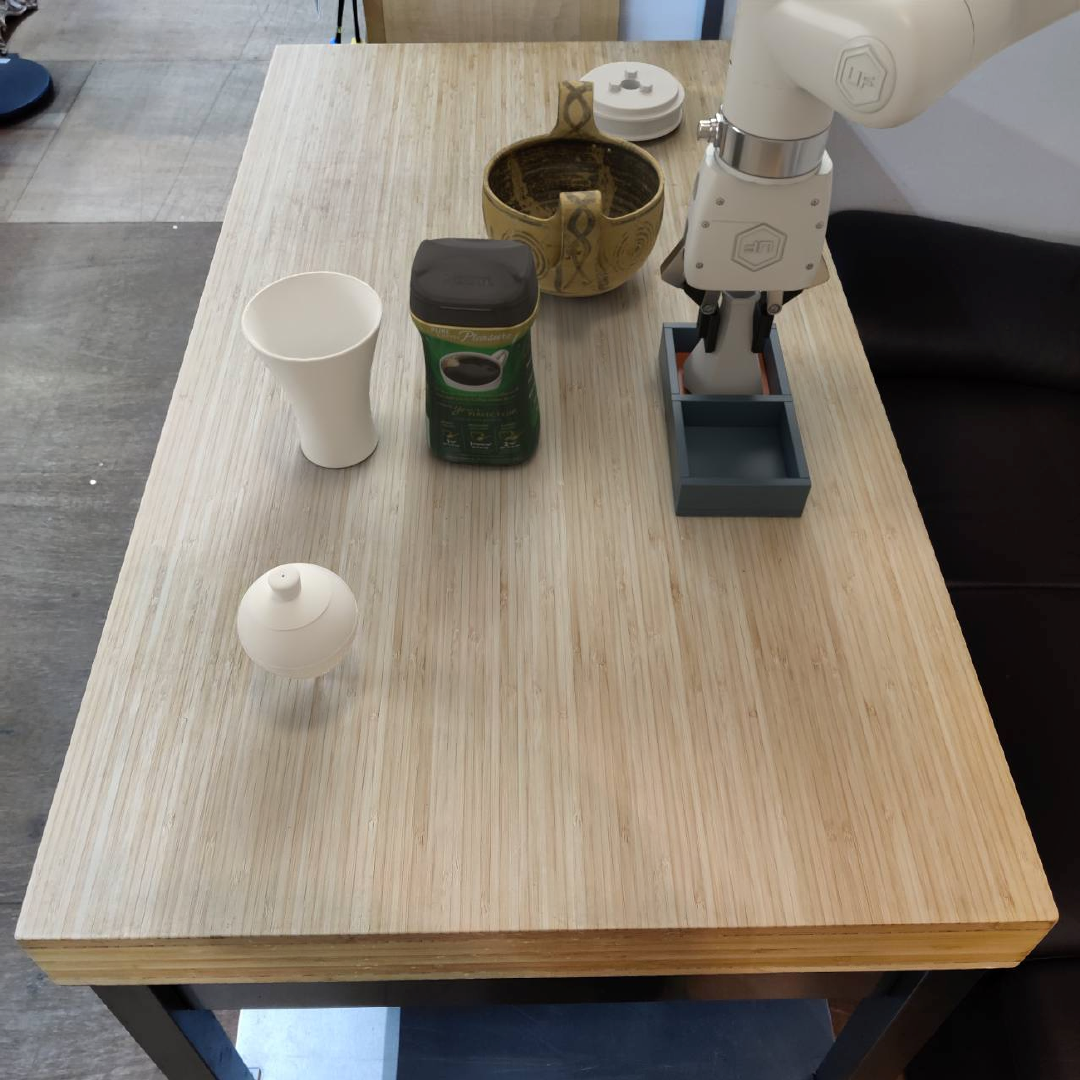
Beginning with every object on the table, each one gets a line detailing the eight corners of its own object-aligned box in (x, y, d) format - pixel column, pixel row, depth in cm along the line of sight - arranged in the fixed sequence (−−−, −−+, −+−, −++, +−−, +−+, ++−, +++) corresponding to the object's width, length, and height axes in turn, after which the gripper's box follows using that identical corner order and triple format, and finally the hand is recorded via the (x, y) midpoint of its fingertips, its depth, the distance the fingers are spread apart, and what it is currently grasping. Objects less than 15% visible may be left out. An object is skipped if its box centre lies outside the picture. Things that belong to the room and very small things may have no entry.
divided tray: (801, 517, 79) (812, 485, 76) (675, 516, 79) (681, 484, 76) (767, 355, 91) (775, 322, 88) (658, 354, 91) (662, 321, 88)
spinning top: (370, 624, 72) (344, 520, 63) (374, 717, 67) (348, 620, 58) (264, 637, 71) (222, 534, 62) (261, 731, 67) (215, 636, 57)
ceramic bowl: (663, 349, 91) (682, 205, 79) (480, 348, 91) (472, 204, 79) (648, 210, 105) (662, 71, 93) (489, 209, 105) (483, 69, 93)
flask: (698, 416, 84) (715, 323, 76) (669, 361, 88) (682, 268, 80) (776, 402, 85) (801, 308, 77) (745, 348, 89) (765, 254, 81)
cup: (378, 497, 80) (354, 371, 69) (257, 474, 81) (216, 348, 71) (417, 409, 86) (401, 281, 75) (305, 389, 88) (274, 261, 77)
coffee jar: (543, 407, 86) (545, 223, 72) (536, 474, 81) (536, 291, 67) (434, 401, 87) (414, 216, 72) (420, 467, 82) (395, 283, 67)
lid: (681, 151, 112) (687, 109, 108) (571, 146, 113) (572, 104, 109) (680, 95, 120) (685, 54, 116) (577, 91, 121) (578, 50, 117)
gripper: (657, 166, 66) (635, 372, 81) (901, 168, 66) (835, 373, 81) (650, 109, 71) (630, 313, 85) (877, 110, 71) (820, 314, 85)
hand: (730, 340), depth 83 cm, fingers closed on flask, 3 cm apart
